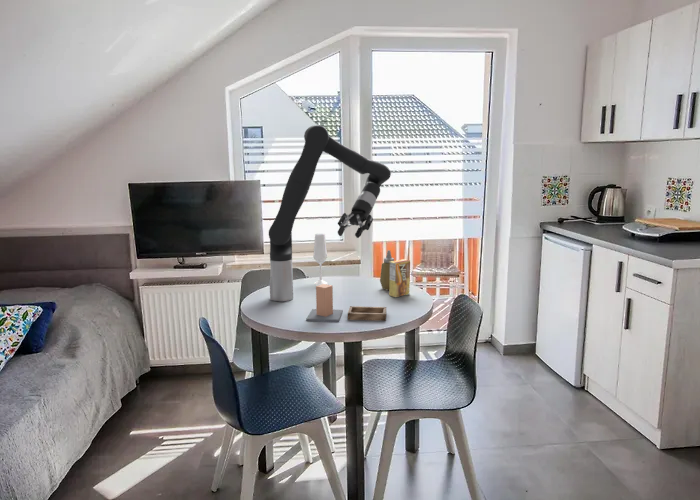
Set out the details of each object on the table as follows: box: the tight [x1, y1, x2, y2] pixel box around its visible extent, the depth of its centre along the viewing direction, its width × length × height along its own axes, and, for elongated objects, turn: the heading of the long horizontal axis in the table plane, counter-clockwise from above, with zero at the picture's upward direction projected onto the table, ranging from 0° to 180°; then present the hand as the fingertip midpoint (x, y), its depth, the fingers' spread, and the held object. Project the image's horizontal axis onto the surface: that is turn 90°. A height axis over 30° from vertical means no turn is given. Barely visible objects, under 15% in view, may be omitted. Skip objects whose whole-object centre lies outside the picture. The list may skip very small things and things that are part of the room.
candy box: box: [388, 258, 411, 298], centre depth 205 cm, size 9×4×15 cm, turn 129°
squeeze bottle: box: [379, 249, 395, 291], centre depth 215 cm, size 8×8×18 cm
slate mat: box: [305, 308, 343, 323], centre depth 177 cm, size 12×12×1 cm
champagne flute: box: [313, 233, 329, 286], centre depth 225 cm, size 7×7×24 cm
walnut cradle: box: [347, 305, 387, 322], centre depth 177 cm, size 14×9×2 cm, turn 84°
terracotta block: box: [315, 284, 334, 317], centre depth 176 cm, size 4×4×11 cm
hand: (347, 235), depth 186 cm, fingers open, 8 cm apart
